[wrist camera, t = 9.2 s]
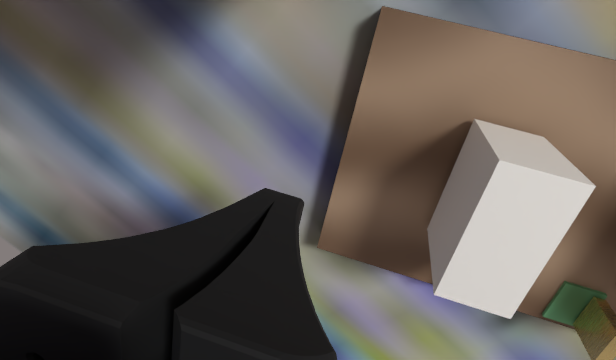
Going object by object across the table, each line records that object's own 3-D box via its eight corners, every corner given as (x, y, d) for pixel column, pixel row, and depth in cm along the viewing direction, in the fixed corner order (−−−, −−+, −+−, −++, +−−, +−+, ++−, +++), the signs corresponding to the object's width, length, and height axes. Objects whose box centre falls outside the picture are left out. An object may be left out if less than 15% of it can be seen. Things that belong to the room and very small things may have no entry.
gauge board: (629, 329, 21) (704, 438, 16) (322, 233, 23) (297, 301, 18) (821, 107, 15) (1048, 163, 10) (383, 6, 17) (374, 6, 12)
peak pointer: (584, 327, 20) (606, 367, 17) (572, 323, 20) (593, 362, 17) (606, 300, 19) (631, 338, 16) (593, 296, 19) (617, 333, 17)
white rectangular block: (465, 284, 20) (482, 362, 16) (410, 266, 20) (412, 338, 16) (544, 136, 16) (596, 186, 12) (474, 118, 16) (499, 160, 12)
